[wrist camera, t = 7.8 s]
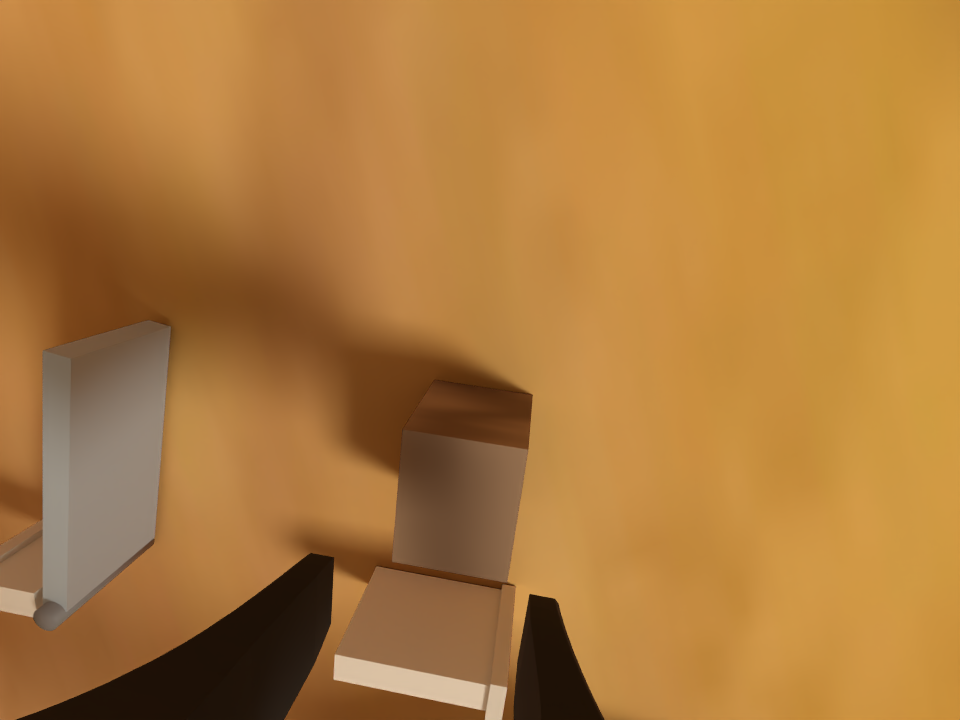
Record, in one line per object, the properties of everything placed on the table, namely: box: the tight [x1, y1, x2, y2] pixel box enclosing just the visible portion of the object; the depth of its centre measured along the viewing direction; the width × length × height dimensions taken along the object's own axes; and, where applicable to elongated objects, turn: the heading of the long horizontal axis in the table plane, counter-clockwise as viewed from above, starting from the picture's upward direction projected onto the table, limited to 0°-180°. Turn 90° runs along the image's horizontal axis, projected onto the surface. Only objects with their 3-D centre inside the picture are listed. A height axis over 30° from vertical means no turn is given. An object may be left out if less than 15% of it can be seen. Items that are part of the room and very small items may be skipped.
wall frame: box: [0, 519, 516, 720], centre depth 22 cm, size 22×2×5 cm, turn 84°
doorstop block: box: [392, 380, 533, 583], centre depth 20 cm, size 4×5×5 cm
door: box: [33, 320, 171, 631], centre depth 21 cm, size 11×2×5 cm, turn 166°
